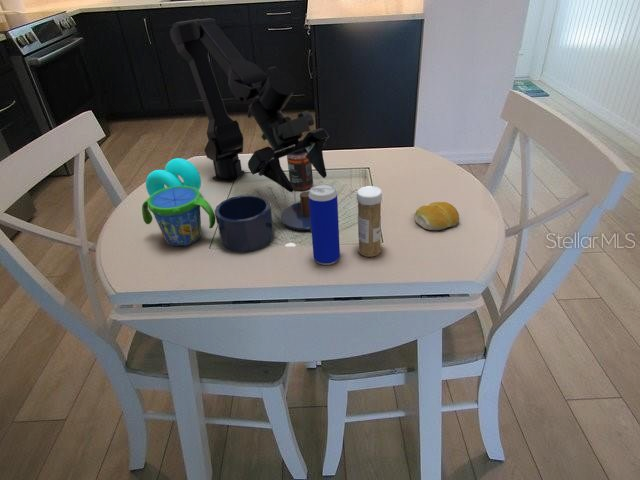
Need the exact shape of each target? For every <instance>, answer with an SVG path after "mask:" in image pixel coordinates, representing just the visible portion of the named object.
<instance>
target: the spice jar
mask: <svg viewBox="0 0 640 480" xmlns="http://www.w3.org/2000/svg"><path fill="white" fill-rule="evenodd" d="M382 200H383V191H382V189H381V188H379V187H378V186H375V185H374V186H373V185H366V186H362V187H359V188H358V189H357V191H356V201H357V235H358V236H357V237H358V249H357V250H358V253H359V254H360V255H361V256H363V257H367V258H372V257H376V256H378V255H380V254H381V252H382V248H381V238H382V216H381V212H382V211H381V210H382V207H381V206H382V205H381V204H382Z"/></svg>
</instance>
